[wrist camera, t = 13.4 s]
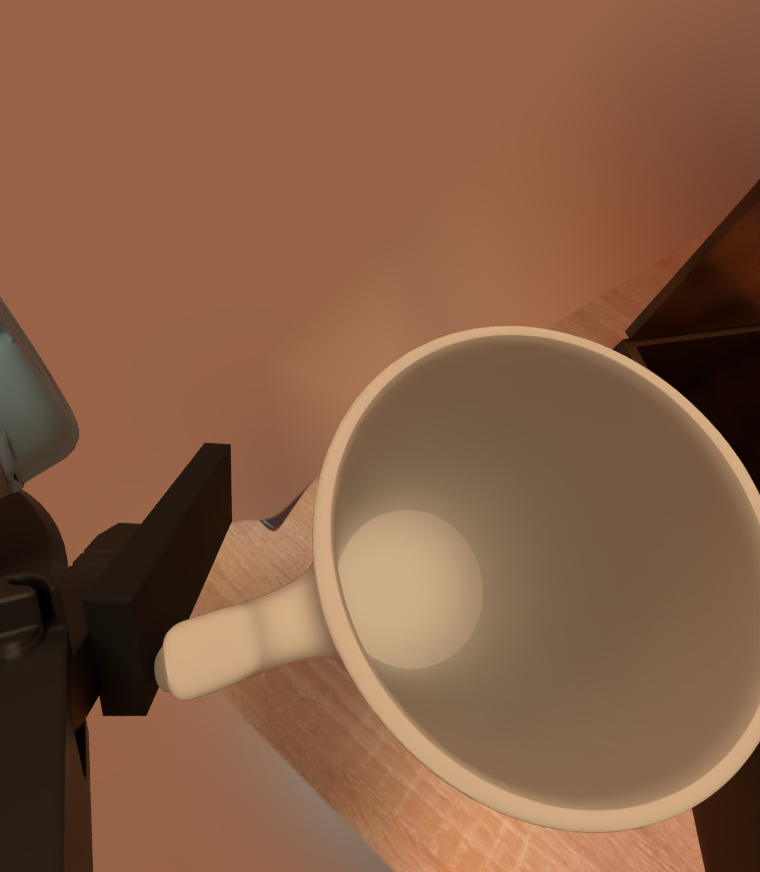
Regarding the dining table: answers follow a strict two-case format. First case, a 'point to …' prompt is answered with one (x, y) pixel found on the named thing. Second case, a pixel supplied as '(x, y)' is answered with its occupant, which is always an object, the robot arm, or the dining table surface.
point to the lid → (712, 280)
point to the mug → (525, 582)
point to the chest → (712, 380)
